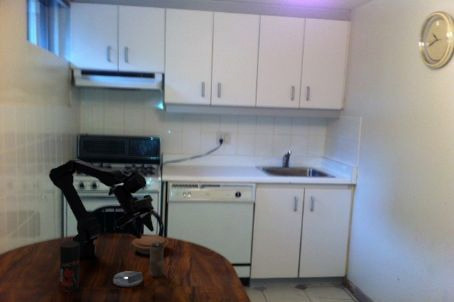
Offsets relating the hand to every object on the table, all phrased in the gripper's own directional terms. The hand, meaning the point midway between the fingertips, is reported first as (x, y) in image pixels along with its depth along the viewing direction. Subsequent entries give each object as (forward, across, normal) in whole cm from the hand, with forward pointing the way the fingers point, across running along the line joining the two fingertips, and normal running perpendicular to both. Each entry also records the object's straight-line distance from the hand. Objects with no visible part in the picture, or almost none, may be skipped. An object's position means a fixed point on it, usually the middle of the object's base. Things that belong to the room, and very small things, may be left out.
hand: (146, 234), depth 144 cm
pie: (+6, +18, +15) cm, 24 cm away
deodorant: (+2, -24, +20) cm, 31 cm away
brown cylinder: (+14, -2, +4) cm, 15 cm away
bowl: (+10, -11, +9) cm, 17 cm away
